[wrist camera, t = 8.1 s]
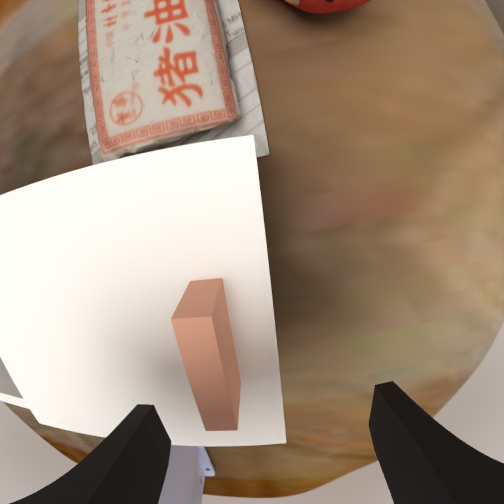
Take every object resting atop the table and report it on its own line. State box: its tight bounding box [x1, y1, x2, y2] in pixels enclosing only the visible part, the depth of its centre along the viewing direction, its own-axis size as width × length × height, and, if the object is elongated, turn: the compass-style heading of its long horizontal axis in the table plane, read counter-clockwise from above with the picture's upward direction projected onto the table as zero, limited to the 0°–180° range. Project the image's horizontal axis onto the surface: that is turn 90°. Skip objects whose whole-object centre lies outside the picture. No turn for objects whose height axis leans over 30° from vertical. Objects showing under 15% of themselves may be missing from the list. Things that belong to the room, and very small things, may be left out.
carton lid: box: [0, 135, 286, 446], centre depth 11 cm, size 15×17×3 cm
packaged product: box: [78, 0, 270, 165], centre depth 12 cm, size 18×5×10 cm
